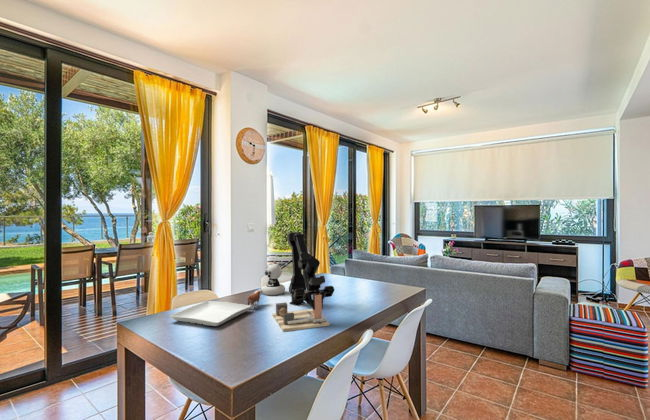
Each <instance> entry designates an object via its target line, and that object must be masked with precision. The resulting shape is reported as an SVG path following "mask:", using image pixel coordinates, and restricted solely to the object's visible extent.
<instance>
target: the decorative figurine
mask: <svg viewBox="0 0 650 420" xmlns="http://www.w3.org/2000/svg"><path fill="white" fill-rule="evenodd" d="M266 265H267V268H266V270H265V271H264V275H265V276H267V277H268V281H267V283H266V284H264V285H263V286H262V287H261V288H260V289H261V290H262V291H263V293H264V294H263V295H266V296H278V295H281V294H284V293H285V291H286V287H285V285H283V284H281V283H280V281H279V278H280V277H281V276H282V272H283V269H282V268H281V266H280V261H278V262H277V263H273V264H269V263H268V262H267V263H266Z"/></svg>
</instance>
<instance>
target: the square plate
mask: <svg viewBox="0 0 650 420" xmlns="http://www.w3.org/2000/svg"><path fill="white" fill-rule="evenodd" d="M251 307H252V305H251V304H249V305H248V304H243V303H235V302H227V301H213V300H207V301H204V302H202V303H199V304H195V305H192V306H190V307H187V308H184V309H182V310H181V311H177V312H176V313H173V314H171V315H169V317H170V318H172V319H173V320H174V321H177V322H178V321H179V322H184V323H188V322H190V323H189V324H195V323H197V324H196V325H202V324H203V326H212V327H219V326H220V325H223V324H225V323H226V322H228V321H230V320H232V319H234V318H236V317H238V316H240V315H242V314H244V313H246V312H247V311H249V308H251Z"/></svg>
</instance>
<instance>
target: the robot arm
mask: <svg viewBox="0 0 650 420" xmlns="http://www.w3.org/2000/svg"><path fill="white" fill-rule="evenodd" d="M286 240H287V243H288V245H289V247H290V249H291V260H292V271H293V272H292V273H293V274H292V277H291V278H290V283H289V285H288V292H289V293H290V295H291V301H289V304H290V305H293V306H294V305H295V306H299V305H304V304H306V303H307V305H309V306H310V309H313V310H315V306H314V303H313V294H314V293H320V294H321V295H322V309H323V305H324V304H323V303H324V299H325V298H331V297H332V296H333V294H334V292H335V287H334V286H333V285H325V286H324V288H323V289H321V288H322V287H321V285H323V284H325V283H326V278H325V275H320V276H317V277H316V273H317V272H318V269H319V266H320V265H321V262H320V260H319V259H317V258H315V256H314V255H312V254H310V253H309V252H308V251H309V250H308V248H307V244H306V242H305V235H304V233H301V231H299V232H298V231H295V232H292V231H290V232H288V233H287V235H286Z"/></svg>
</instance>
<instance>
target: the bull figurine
mask: <svg viewBox="0 0 650 420" xmlns="http://www.w3.org/2000/svg"><path fill="white" fill-rule="evenodd" d="M262 295H265V294H264V293H263V291H262V290H261V288H259V289H256V291H254V292H253V293H252V294H250V295H248V296H247V298H246V299H247V305H251V307H252V308H253V309H256V308H257V307H256V306H258V307H259V306H260V305H259V302H260V298H261V296H262ZM251 307H250V308H251ZM250 308H249V309H250ZM249 309H248V310H249Z"/></svg>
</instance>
